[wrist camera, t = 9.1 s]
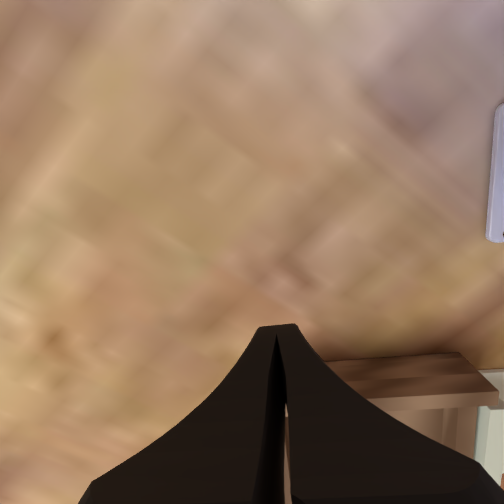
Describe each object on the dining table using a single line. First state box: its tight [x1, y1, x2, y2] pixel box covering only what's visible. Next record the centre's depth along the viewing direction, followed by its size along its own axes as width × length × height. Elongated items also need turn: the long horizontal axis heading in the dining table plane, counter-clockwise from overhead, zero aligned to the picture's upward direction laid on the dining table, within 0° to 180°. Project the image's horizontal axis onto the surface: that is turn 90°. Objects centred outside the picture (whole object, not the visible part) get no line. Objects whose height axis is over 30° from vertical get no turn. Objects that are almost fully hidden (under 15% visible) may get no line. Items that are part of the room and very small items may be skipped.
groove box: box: [284, 352, 499, 504], centre depth 21 cm, size 14×12×4 cm
